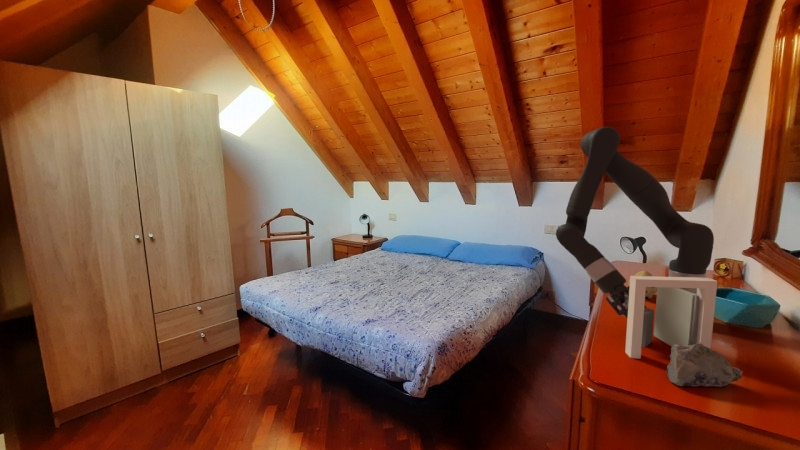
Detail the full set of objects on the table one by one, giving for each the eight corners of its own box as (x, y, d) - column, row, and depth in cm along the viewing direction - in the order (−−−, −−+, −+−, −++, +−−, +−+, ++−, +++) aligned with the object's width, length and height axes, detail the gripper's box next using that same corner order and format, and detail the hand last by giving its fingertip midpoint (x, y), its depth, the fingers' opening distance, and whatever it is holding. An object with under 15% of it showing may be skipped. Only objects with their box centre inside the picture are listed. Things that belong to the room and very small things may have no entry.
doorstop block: (627, 341, 98) (629, 309, 97) (634, 336, 101) (636, 305, 99) (644, 347, 94) (647, 314, 93) (651, 342, 97) (654, 309, 96)
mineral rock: (740, 385, 76) (745, 344, 75) (742, 409, 69) (747, 364, 67) (669, 365, 85) (672, 328, 84) (663, 384, 78) (667, 343, 76)
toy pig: (626, 299, 131) (628, 273, 130) (628, 290, 141) (629, 266, 140) (657, 304, 126) (660, 277, 124) (657, 294, 135) (659, 269, 134)
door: (700, 357, 87) (706, 296, 85) (690, 358, 87) (696, 296, 85) (662, 335, 100) (666, 281, 98) (653, 335, 100) (657, 281, 98)
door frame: (700, 356, 89) (708, 277, 86) (709, 362, 86) (717, 281, 83) (625, 352, 92) (630, 275, 89) (630, 357, 89) (636, 279, 86)
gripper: (603, 272, 97) (646, 322, 89) (624, 264, 105) (665, 309, 97) (584, 285, 102) (623, 334, 95) (605, 277, 110) (643, 321, 103)
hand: (645, 321), depth 96 cm, fingers open, 8 cm apart
